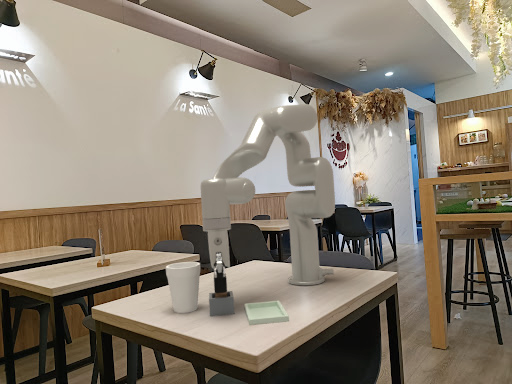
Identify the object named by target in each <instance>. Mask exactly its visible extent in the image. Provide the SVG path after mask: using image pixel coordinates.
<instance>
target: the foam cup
mask: <svg viewBox="0 0 512 384" xmlns="http://www.w3.org/2000/svg"><path fill="white" fill-rule="evenodd" d="M200 273H201V262H197V261H184V262H175V263H171V264H168V265H166V266H165V274H166V278H167V282H168V287H169V291H170V298H171V303H172V308H173V312H174V313H176V314H177V313H178V314H187V313H192V312H194V311H197V310H198V305H199V304H198V303H199V290H200V288H199V286H200V275H201V274H200Z"/></svg>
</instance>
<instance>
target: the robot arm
mask: <svg viewBox="0 0 512 384" xmlns="http://www.w3.org/2000/svg"><path fill="white" fill-rule="evenodd" d="M317 122H318V114H317V111H316V109H315V108H314V107H313V106H312V105H311V104H308V103H302V104H290V105H282V106H281V105H279V106H276V107H273V108H272V107H271V108H268V109H264V110H261V111H259V112H257V113H256V114H255V116H254V117H253V119H252V121H251V123H250V125H249V127H248V128H247V131H246V133H245V136H244V137H243V139H242V140H241V143H240V145H239V146H238V147H237V148H236V149H234V151H233V152H232V153H231V154H229V155H228V157H227V158H225V159H224V160H223V161H222V163H220V165H219V166H218V168H217V169H216V170H215V173H214V175H213V177H212V178H207V179H204V180H202V181H201V182H200V201H201V217H202V231H203V232H207V240H208V241H207V242H208V251H209V252H208V253H209V260H210V266H211V268H212V269H213V275H214V274H215V277H214V276H213V286H214V293H225V292H227V291H228V285H227V283H228V282H227V281H228V280H227V275H226V276H225V273H226V267H227V268H228V269H229V268H230V267H231V261H230V246H229V234H228V231H229V230H231V229H232V224H231V222H232V221H231V210H230V209H231V208H230V206H231V205H242V204H243V205H244V204H247V203H249V202H251V201H252V200H253V199H254V197H255V195H256V187H255V184H254V182H253V181H252V180H250V179H249V178H246V177H242V176H241V177H240V175H242V174H244V173H245V172H247V171H248V170H250V169H252V168H254V167H256V166H258V165H259V164H261V163H262V162H263V161H265V159H266V158H267V156H268V153H269V151H270V149H271V146H272V144H273V142H274V140H275V138H276V137H278V138H279V139H280V141H281V142H282V144H283V146H284V149H285V159H286V174H287V179H288V183H289V184H290V185H291V186H292V187H295V188H297V187H299V188H300V187H301V188H302V187H304V188H305V187H314V189H306V190H304V189H303V190H296V191H292V192H291V193H289V194H288V195H287V197H285V202H284V208H285V211H286V215H287V219H288V226H289V239H290V240H289V243H290V244H289V245H290V256H291V257H290V259H291V274H292V275H291V276H290V277H288V283H289V284H291V285H295V286H313V285H319V284H322V283H324V282H325V281H326V280H325V279H326V278H325V276H326V275H327V276H330V275H335V274H334V269H333V268H322V267H321V266H320V255H319V253H320V251H319V238H318V229H317V225H316V224H315V222H314V221H313V219H327V218H330V217H331V216H333V214H334V212H335V207H336V198H335V197H336V195H335V179H334V171H333V166H332V165H331V162H330V160H328V159H327V158H326V157H324V156H322V157H321V156H316V157H312V154H311V146H310V142H309V140H308V138H307V137H306V136H305V135H304V133H302V132H308V131H311V130H313V129H314V128H315V127H316V124H317Z"/></svg>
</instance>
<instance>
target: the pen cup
mask: <svg viewBox="0 0 512 384" xmlns="http://www.w3.org/2000/svg"><path fill="white" fill-rule="evenodd" d="M208 304H209V305H208V307H209V316H210V317H217V316H229V315H235V299H234V293H233V290H229V291H228V290H227V297H220V298H215V292H209V293H208Z"/></svg>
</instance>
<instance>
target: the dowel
mask: <svg viewBox="0 0 512 384" xmlns="http://www.w3.org/2000/svg"><path fill="white" fill-rule="evenodd" d="M225 276H226V277H227V274H226V272H225ZM214 277H215V274H214V273H213V278H214ZM214 293H215V292H214ZM220 297H227V292H225V293H215V298H220Z"/></svg>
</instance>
